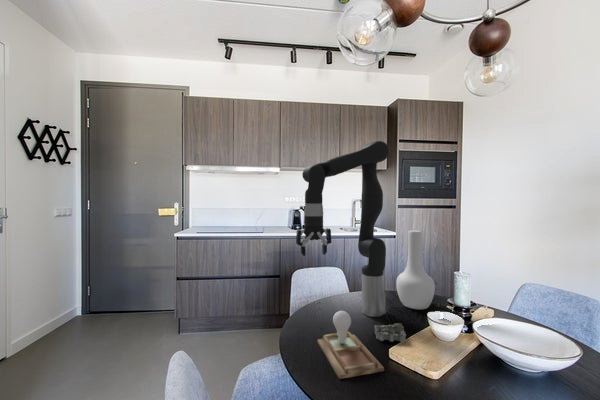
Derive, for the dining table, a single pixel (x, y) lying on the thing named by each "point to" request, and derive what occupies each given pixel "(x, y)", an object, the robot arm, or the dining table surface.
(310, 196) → the robot arm
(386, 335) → the egg carton
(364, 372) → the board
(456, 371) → the dining table surface
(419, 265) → the vase
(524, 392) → the dining table surface
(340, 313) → the lightbulb
